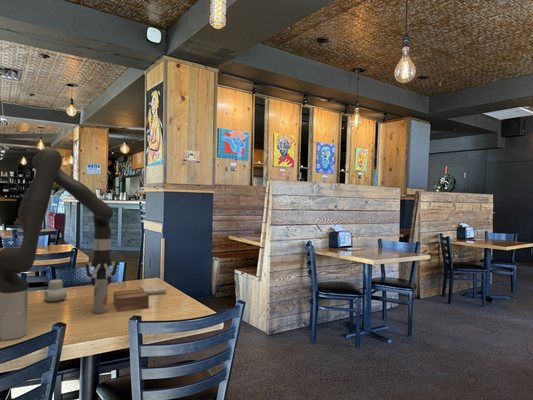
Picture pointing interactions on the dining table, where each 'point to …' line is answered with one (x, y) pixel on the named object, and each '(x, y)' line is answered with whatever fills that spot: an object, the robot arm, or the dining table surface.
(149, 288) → the washcloth
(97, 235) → the robot arm
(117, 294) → the block
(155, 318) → the dining table surface
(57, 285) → the air freshener
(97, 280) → the lotion bottle
